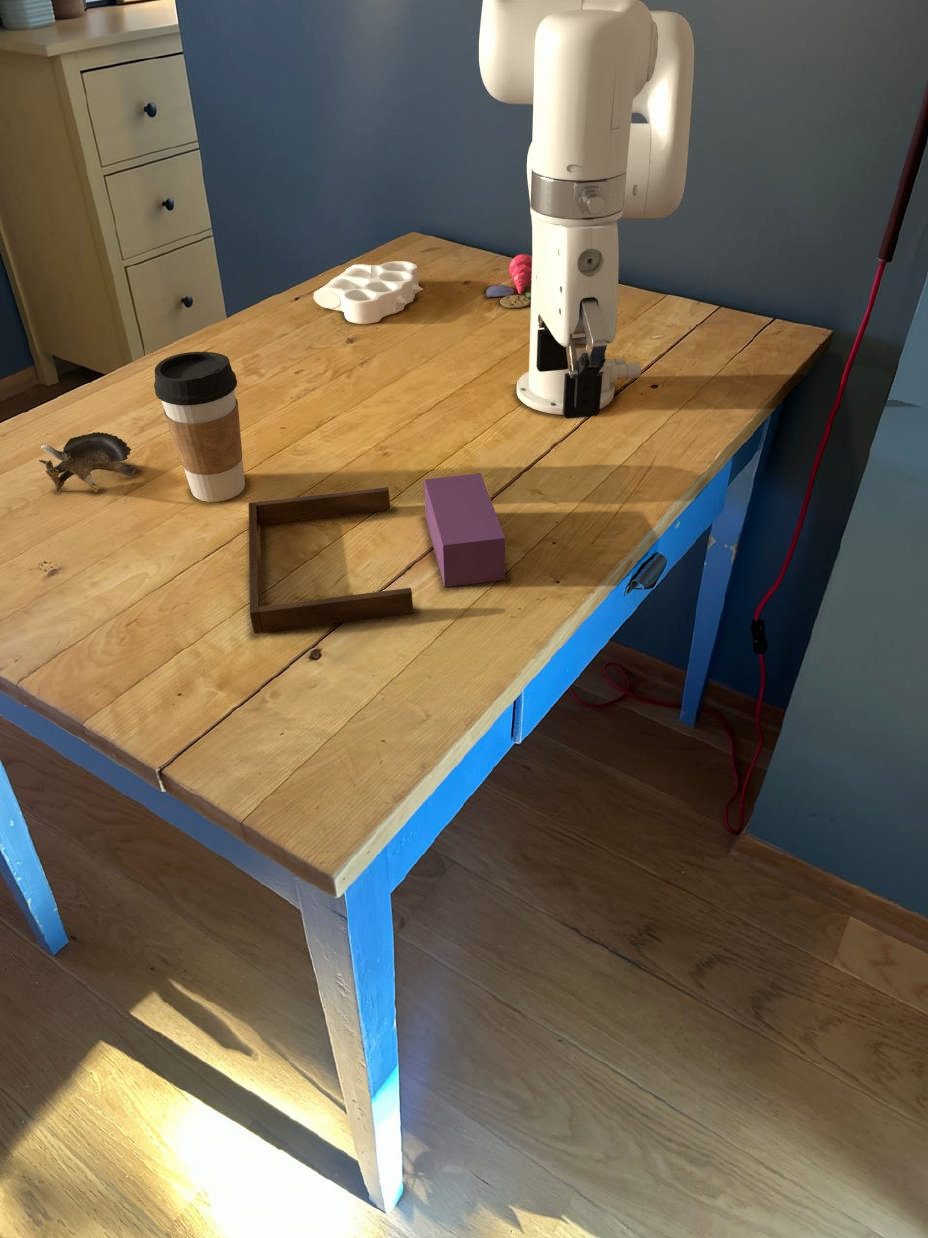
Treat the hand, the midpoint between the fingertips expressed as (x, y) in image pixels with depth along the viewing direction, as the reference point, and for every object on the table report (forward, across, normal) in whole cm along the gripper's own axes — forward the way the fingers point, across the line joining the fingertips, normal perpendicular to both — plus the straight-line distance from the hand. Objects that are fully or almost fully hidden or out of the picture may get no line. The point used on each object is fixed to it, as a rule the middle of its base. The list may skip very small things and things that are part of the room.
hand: (566, 391), depth 86 cm
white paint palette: (+16, +69, +12) cm, 71 cm away
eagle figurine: (+17, +22, +49) cm, 56 cm away
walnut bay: (+17, +1, +23) cm, 29 cm away
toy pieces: (+16, +67, -11) cm, 69 cm away
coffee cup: (+17, +18, +35) cm, 42 cm away
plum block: (+17, +1, +10) cm, 19 cm away
